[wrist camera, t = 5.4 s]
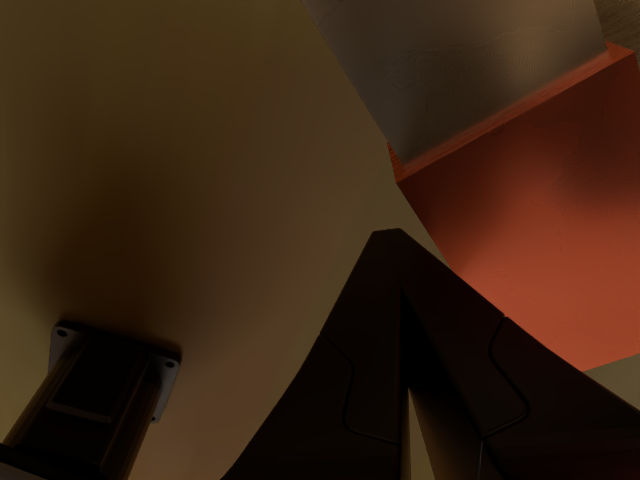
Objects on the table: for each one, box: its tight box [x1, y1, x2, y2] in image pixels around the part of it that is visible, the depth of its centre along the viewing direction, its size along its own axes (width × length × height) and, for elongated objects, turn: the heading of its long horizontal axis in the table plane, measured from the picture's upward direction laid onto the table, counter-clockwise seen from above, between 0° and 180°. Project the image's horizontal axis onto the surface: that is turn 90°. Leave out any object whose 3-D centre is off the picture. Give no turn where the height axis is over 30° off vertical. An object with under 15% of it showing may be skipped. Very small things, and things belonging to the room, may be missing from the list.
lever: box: [301, 0, 640, 372], centre depth 6 cm, size 15×4×2 cm, turn 34°
